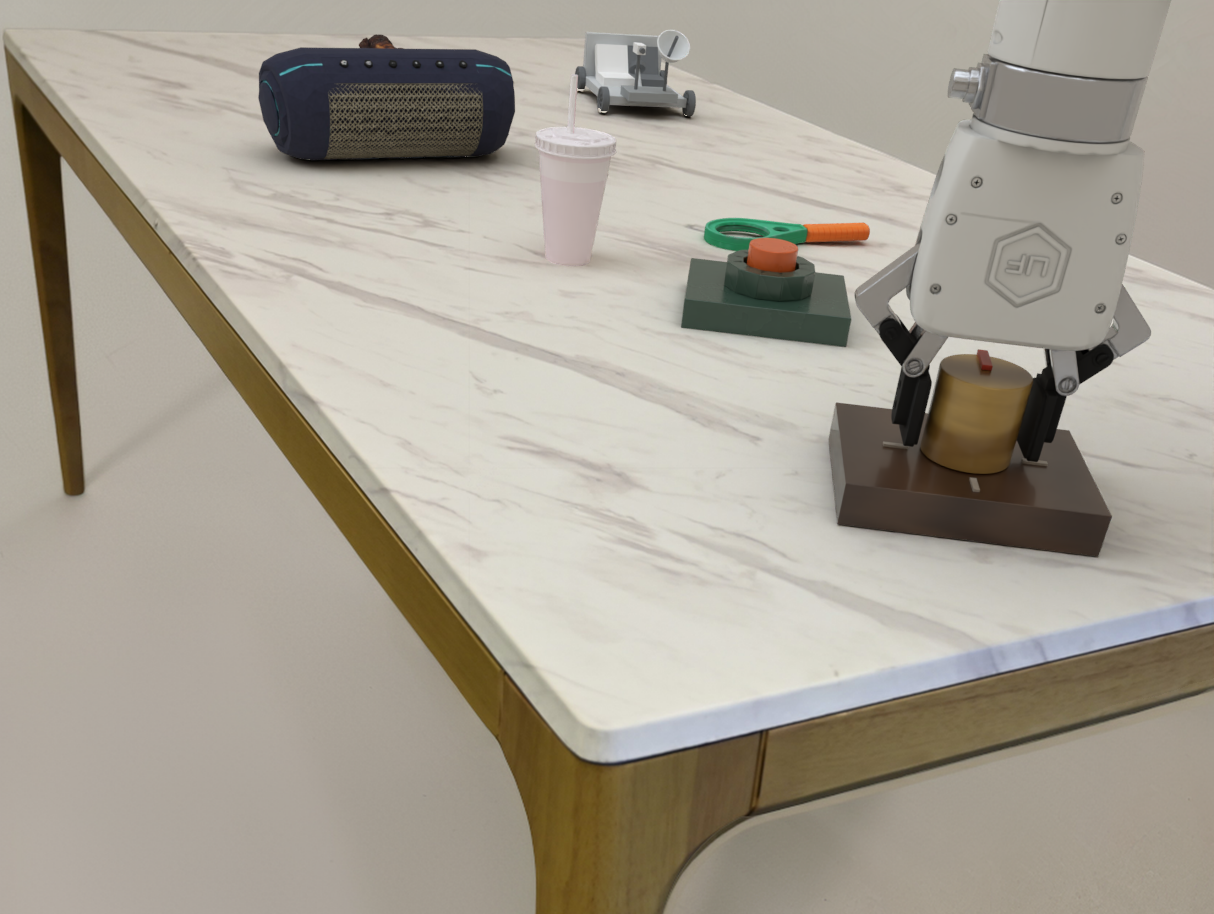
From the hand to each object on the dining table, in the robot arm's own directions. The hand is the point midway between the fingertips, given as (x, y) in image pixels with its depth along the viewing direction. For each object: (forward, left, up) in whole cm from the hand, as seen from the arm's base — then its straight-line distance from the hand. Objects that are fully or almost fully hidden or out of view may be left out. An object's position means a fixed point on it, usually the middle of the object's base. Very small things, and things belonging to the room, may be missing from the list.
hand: (967, 441), depth 71 cm
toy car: (+27, -99, -4) cm, 103 cm away
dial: (0, 0, -1) cm, 1 cm away
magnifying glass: (+9, -47, -4) cm, 48 cm away
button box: (+11, -27, -3) cm, 29 cm away
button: (+11, -27, 0) cm, 29 cm away
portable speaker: (+48, -61, -4) cm, 78 cm away
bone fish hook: (+54, -101, -4) cm, 115 cm away
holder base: (0, 0, -3) cm, 3 cm away
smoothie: (+27, -35, -4) cm, 44 cm away
